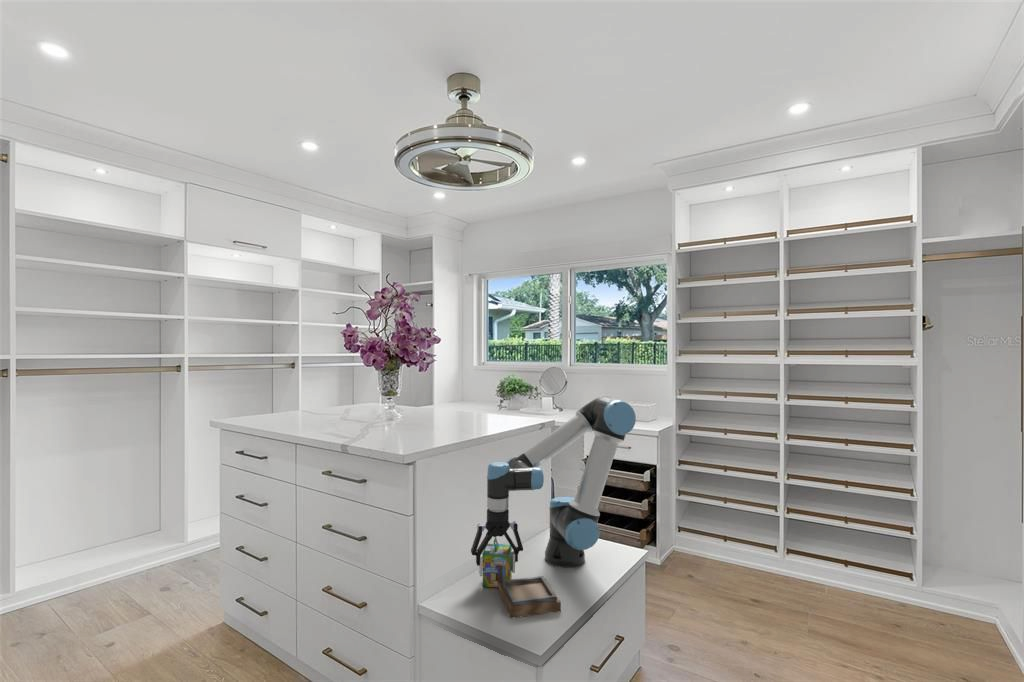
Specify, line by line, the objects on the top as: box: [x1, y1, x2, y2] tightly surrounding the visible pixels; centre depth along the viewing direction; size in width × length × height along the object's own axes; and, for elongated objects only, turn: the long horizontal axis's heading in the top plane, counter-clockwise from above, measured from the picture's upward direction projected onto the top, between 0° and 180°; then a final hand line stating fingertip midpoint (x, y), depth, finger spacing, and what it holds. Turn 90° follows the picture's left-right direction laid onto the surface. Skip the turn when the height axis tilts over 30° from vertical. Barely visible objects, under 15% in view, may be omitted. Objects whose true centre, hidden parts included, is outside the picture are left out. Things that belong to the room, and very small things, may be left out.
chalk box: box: [482, 537, 513, 589], centre depth 173 cm, size 9×9×15 cm
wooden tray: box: [498, 575, 562, 619], centre depth 160 cm, size 16×16×4 cm
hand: (496, 572), depth 172 cm, fingers closed on chalk box, 11 cm apart
